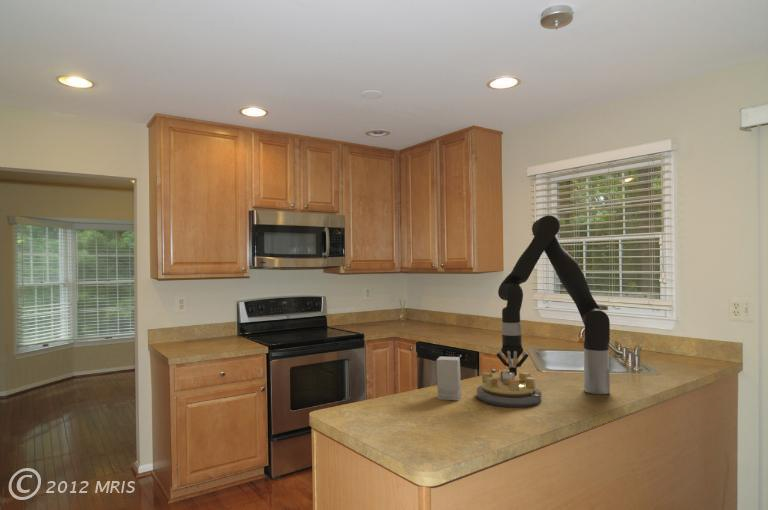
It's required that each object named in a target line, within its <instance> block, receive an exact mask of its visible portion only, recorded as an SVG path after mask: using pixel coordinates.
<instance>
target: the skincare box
mask: <svg viewBox="0 0 768 510" xmlns="http://www.w3.org/2000/svg"><path fill="white" fill-rule="evenodd" d="M436 382H437V383H436V384H437V386H436V387H437V400H443V401H444V400H446V401H459V400H460V399H461V397H462V384H461V382H462V381H461V360H460V356H441V355H440V356H439V357H438V358H437V359H436Z"/></svg>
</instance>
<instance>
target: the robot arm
mask: <svg viewBox="0 0 768 510" xmlns="http://www.w3.org/2000/svg"><path fill="white" fill-rule="evenodd" d="M560 224H561V223H560V221H559V218H557V217H556V216H554V215H550V214H548V215H544V216H542V217H540V218H539V219H537V220H536V221H534V222H533V223H532V226H531V230H532V231H531V232H532V236H533V238H532V240H531V242H530V244H528V246H527V247H526V249H525V250H524V252H522V254H521V255H520V256H519V258H518V260H517V261H516V262H515V265H514V267H513V269H512V270H511V272H510V273H509V274H508V275H507V276H506V277H504V280H502V282H501V283H500V284H499V287H498V291H497V294H498V297H499V298H500V299H501V300H503V301H507V303H506V306H505V307H503V308H502V310H501V318H502V319H501V320H502V321H501V324H502V325H501V340H502V343H501V344H502V345H501V350H499V351H498V352H497V353H496V357H497V358H498V359H499V360H500V362H501V363H502V364H503V365H504V367H507V368H508V369H509V370H508V372H513V373H514V378H516V376H517V375H518V371H517V368H519V367H521V366H522V365H523V363H524V362H525V361H526V360H527V358H529V353H528V352H525V350H524V348H523V346H522V345H523V344H522V343H523V342H522V340H523V339H522V325H521V324H522V323H521V309H522V303H523V300H524V292H523V289H522V286H520V285H521V284H523V283H525V282H527V281H528V280H529V278H530V276H531V275H532V272H533V270H534V269H535V267H536V265H537V263H538V261H540V260H539V259H541V258H540V257H541V256H542V255H543V253H545V254H546V256H547V259H548V260H549V262H550V263H551V266H552V268H553V270H554V271H555V273H556V276H557V277H558V279H559V281H560V283H561V284H562V287H564V289H565V291H566V292H567V294H568V295H569V297H570V298H571V300H572V301H573V302H574V304H575V307H576V309H577V310H578V313H579V316H580V318H581V320H582V323H583V325H584V339H583V391H584V392H586V393H588V394H593V395H611V388H610V387H611V382H610V381H611V380H610V378H611V377H610V371H611V370H610V368H609V367H610V360H609V353H610V352H609V350H610V349H609V347H610V346H609V345H610V340H611V339H610V338H611V337H610V336H611V335H610V333H611V330H610V329H611V328H610V326H611V324H610V323H611V322H610V318H609V315H608V314H607V313H606V312H605V311H604V310H602V309H601V307H600V306H599V305H598V303H597V302H596V300H595V299H594V296H593V295H592V293H591V291H590V288H589V285H588V281H587V279H586V277H585V274H584V272H583V270H582V269H581V267H580V265H579V263H578V262H577V261H576V260H575V258H574V257H573V256H572V255H571V254H570V253H568V251H566V250H565V249H564V248H563V247H562V245H561V244H560V242H559V240H558V238H557V234H558V233H559V231H560V229H561V225H560ZM504 356H505V358H504ZM520 356H521V358H520ZM506 358H507V360H506ZM518 359H520V360H519V362H518Z"/></svg>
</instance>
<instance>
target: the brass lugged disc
mask: <svg viewBox="0 0 768 510" xmlns="http://www.w3.org/2000/svg"><path fill="white" fill-rule="evenodd" d="M518 375H519V377H514V373H513V372H509V370H508V369H499V370H498V377H494V376H493V373H492V372H488V371H483V372H482V373H481V376H482V377H481V378H482V379H481V386H482V390H483V391H484V392H486V393H489V394H492V395H497V396H503V397H525V396H530V395H533V394H535V393H536V389H537V387H536V386H537V378H536V377H532V376H531V373H530V372H528V371H522V372H519V373H518Z"/></svg>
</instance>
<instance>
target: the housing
mask: <svg viewBox="0 0 768 510" xmlns="http://www.w3.org/2000/svg"><path fill="white" fill-rule="evenodd" d="M476 399H477V400H478V401H479V402H481V403H482V404H486V405H489V406H492V407H493V406H495V407H500V408H508V409H524V408H530V407H531V408H532V407H535V406H538V405H540V404H541V403H542V391H541V390H540V389H539V388H536V393H535V394H533V395H530V396H525V397H503V396H497V395H492V394H489V393H486V392H484V391H483V390H482V385H480V386H478V387H476Z"/></svg>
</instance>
